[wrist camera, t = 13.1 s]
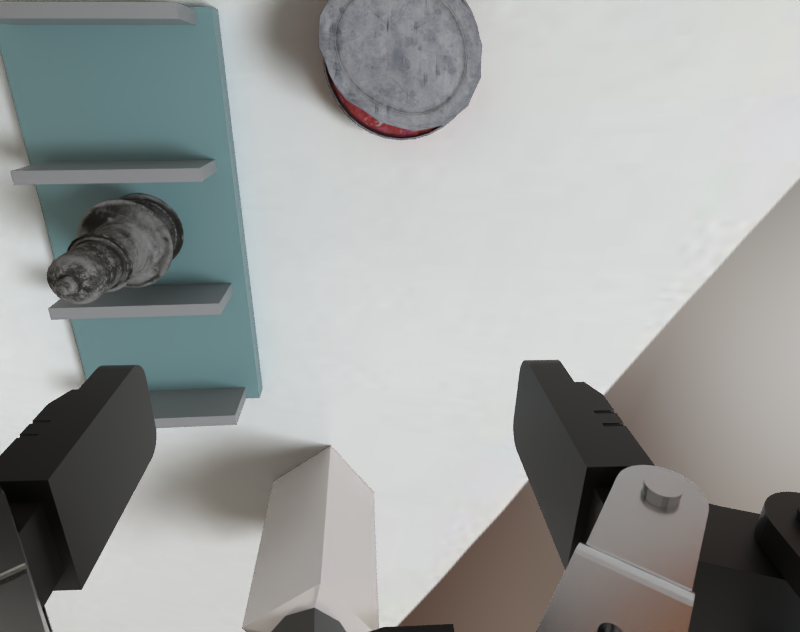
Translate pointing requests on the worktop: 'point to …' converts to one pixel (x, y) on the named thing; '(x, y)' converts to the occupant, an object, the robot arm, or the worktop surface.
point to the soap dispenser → (316, 553)
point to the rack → (142, 187)
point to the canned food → (400, 62)
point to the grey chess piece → (117, 248)
